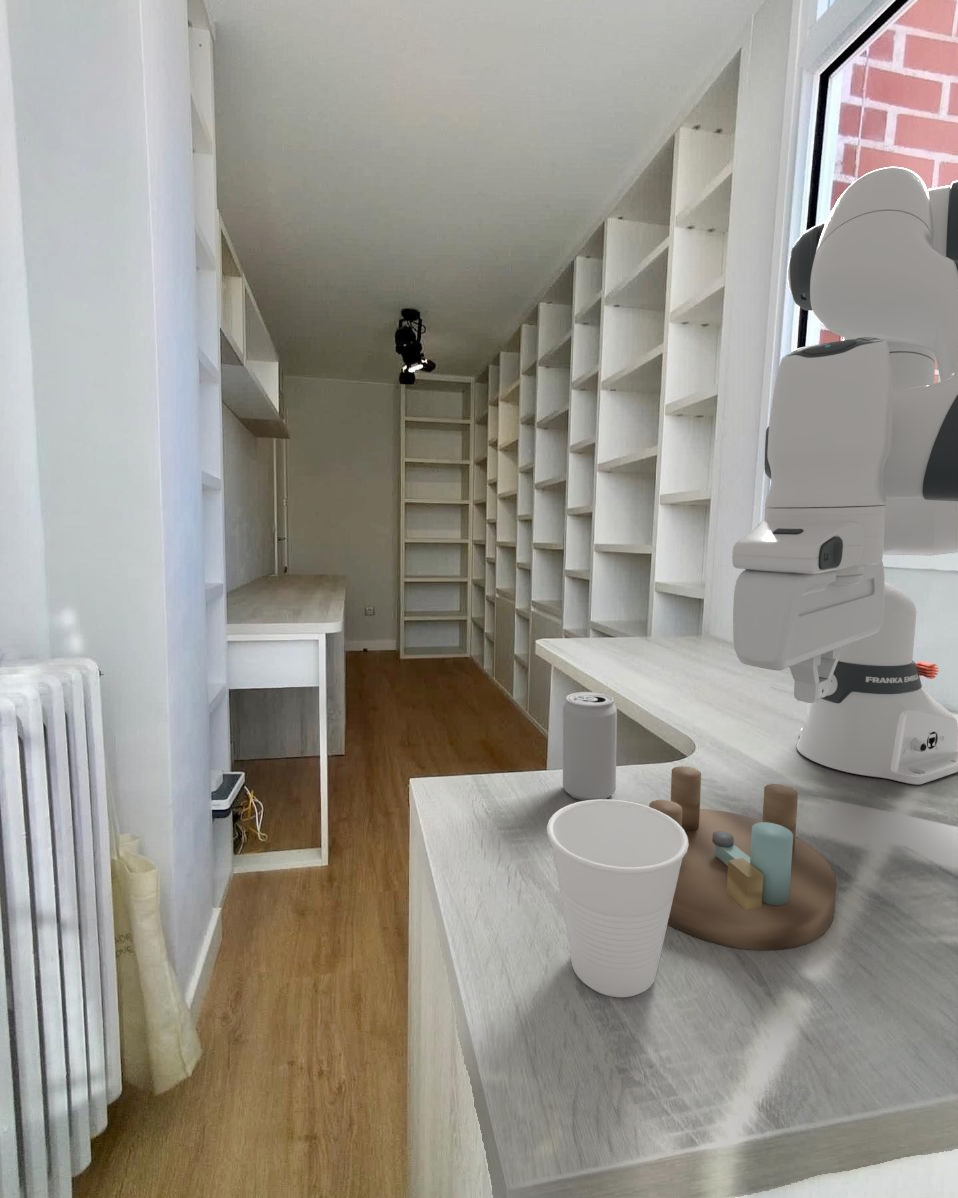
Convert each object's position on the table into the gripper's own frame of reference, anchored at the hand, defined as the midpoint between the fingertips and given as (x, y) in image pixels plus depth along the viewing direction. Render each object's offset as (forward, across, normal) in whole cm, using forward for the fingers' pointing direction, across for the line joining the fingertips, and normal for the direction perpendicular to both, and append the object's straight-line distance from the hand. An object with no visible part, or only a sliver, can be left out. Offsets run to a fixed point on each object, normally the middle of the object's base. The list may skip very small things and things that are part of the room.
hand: (811, 698), depth 53 cm
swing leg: (+14, +8, -1) cm, 16 cm away
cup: (+17, +23, -3) cm, 28 cm away
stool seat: (+17, +6, -4) cm, 19 cm away
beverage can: (+18, +2, -24) cm, 30 cm away
